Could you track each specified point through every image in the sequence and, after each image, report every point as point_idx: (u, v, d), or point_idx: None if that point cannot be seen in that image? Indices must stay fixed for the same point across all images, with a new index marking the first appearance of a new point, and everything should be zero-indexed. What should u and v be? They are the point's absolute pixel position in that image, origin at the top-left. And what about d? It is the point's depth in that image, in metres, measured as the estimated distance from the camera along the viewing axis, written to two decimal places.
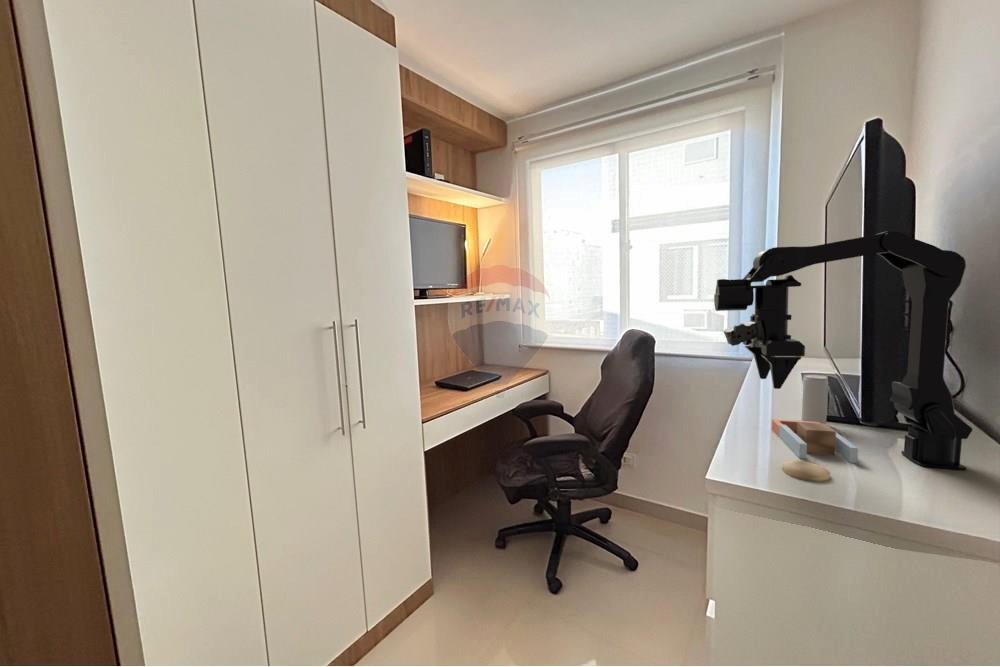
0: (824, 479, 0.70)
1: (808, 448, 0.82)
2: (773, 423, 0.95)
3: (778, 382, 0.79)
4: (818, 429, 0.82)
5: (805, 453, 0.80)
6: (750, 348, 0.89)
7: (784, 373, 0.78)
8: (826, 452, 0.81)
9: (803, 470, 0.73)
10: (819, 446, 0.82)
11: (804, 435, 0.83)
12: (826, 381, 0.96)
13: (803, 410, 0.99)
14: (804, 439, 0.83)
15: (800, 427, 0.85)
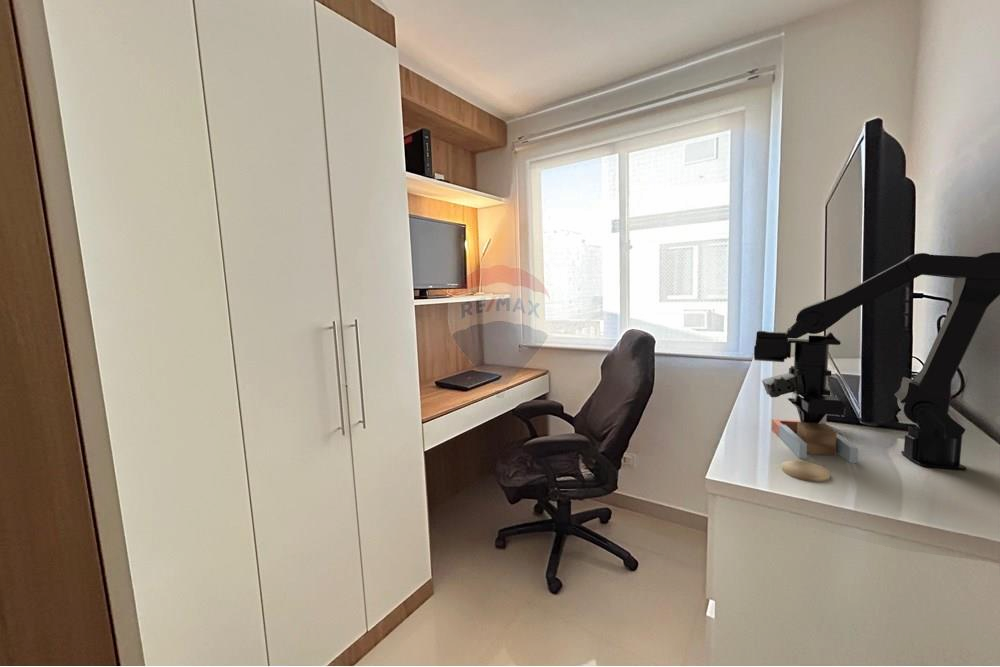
0: (824, 479, 0.70)
1: (808, 448, 0.82)
2: (773, 423, 0.95)
3: None
4: (819, 429, 0.82)
5: (805, 453, 0.80)
6: (794, 402, 0.89)
7: (815, 421, 0.86)
8: (827, 452, 0.81)
9: (803, 470, 0.73)
10: (820, 446, 0.81)
11: (805, 435, 0.83)
12: None
13: None
14: (804, 439, 0.83)
15: (800, 427, 0.85)
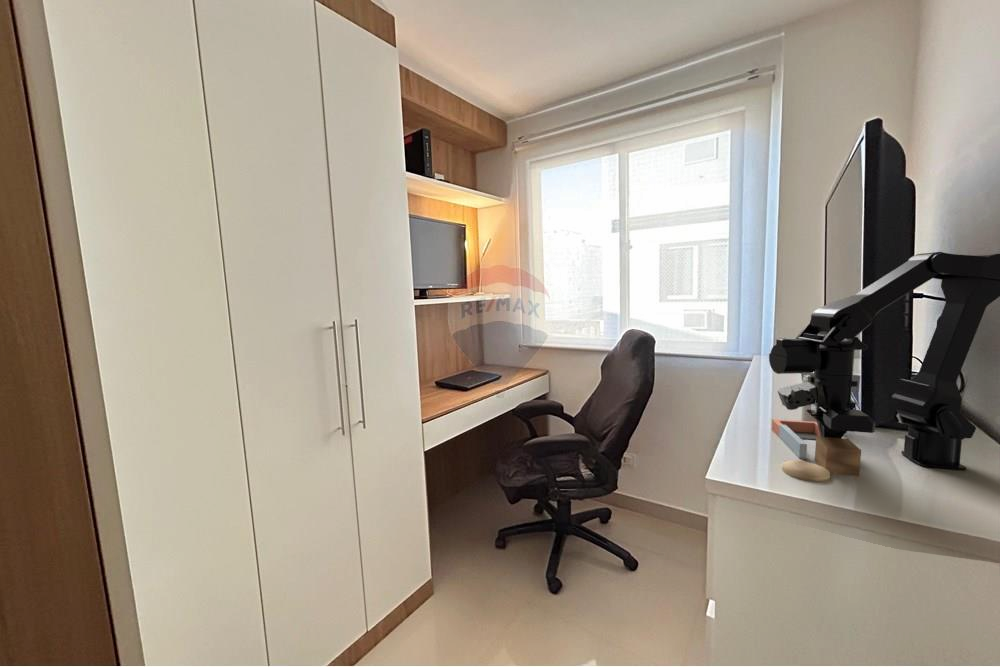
0: (824, 479, 0.70)
1: (829, 468, 0.73)
2: (773, 423, 0.95)
3: None
4: (841, 447, 0.73)
5: (805, 453, 0.80)
6: (814, 415, 0.79)
7: (837, 436, 0.77)
8: (849, 472, 0.72)
9: (803, 470, 0.73)
10: (842, 465, 0.73)
11: (824, 453, 0.74)
12: None
13: (803, 410, 0.99)
14: (824, 457, 0.74)
15: (820, 443, 0.76)
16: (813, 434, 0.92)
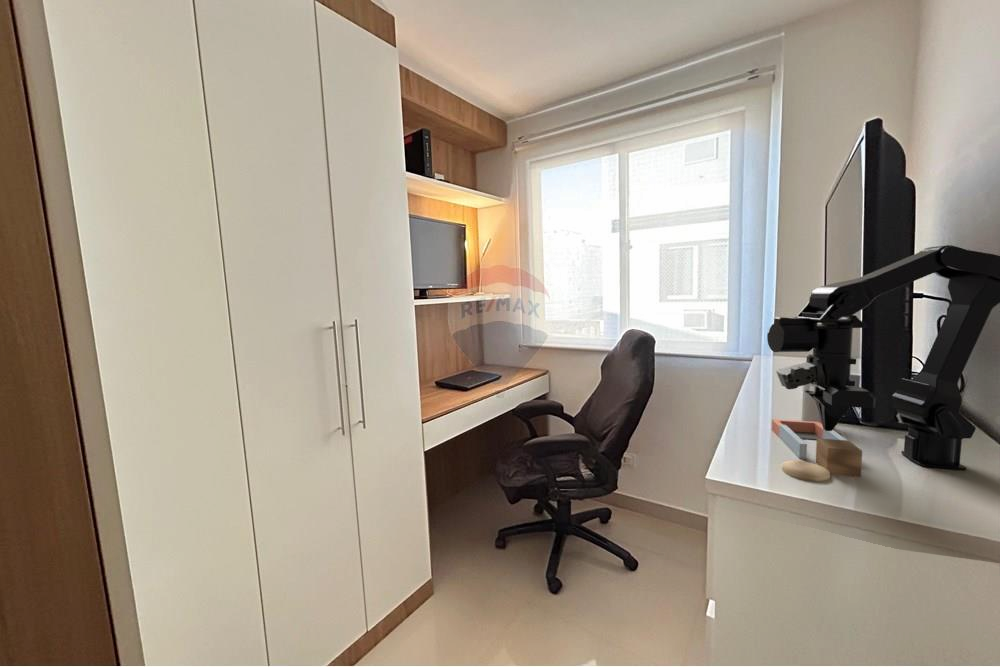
0: (824, 479, 0.70)
1: (830, 469, 0.73)
2: (773, 423, 0.95)
3: (830, 424, 0.77)
4: (841, 447, 0.73)
5: (805, 453, 0.80)
6: (813, 395, 0.79)
7: (837, 416, 0.76)
8: (851, 473, 0.72)
9: (803, 470, 0.73)
10: (843, 466, 0.72)
11: (825, 453, 0.74)
12: None
13: (803, 410, 0.99)
14: (825, 458, 0.74)
15: (820, 444, 0.76)
16: (813, 434, 0.92)
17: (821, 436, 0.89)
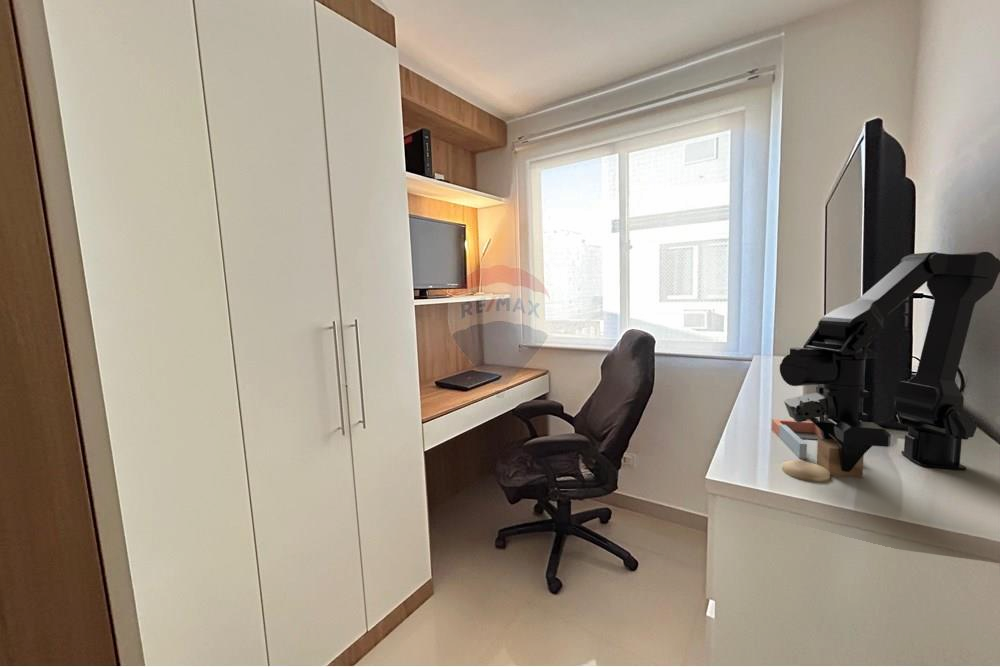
0: (824, 479, 0.70)
1: (831, 469, 0.73)
2: (773, 423, 0.95)
3: (848, 465, 0.71)
4: None
5: (805, 453, 0.80)
6: (817, 423, 0.77)
7: (855, 456, 0.70)
8: (852, 474, 0.72)
9: (803, 470, 0.73)
10: None
11: (827, 454, 0.73)
12: None
13: None
14: (827, 459, 0.73)
15: (822, 445, 0.75)
16: (813, 434, 0.92)
17: (821, 436, 0.89)
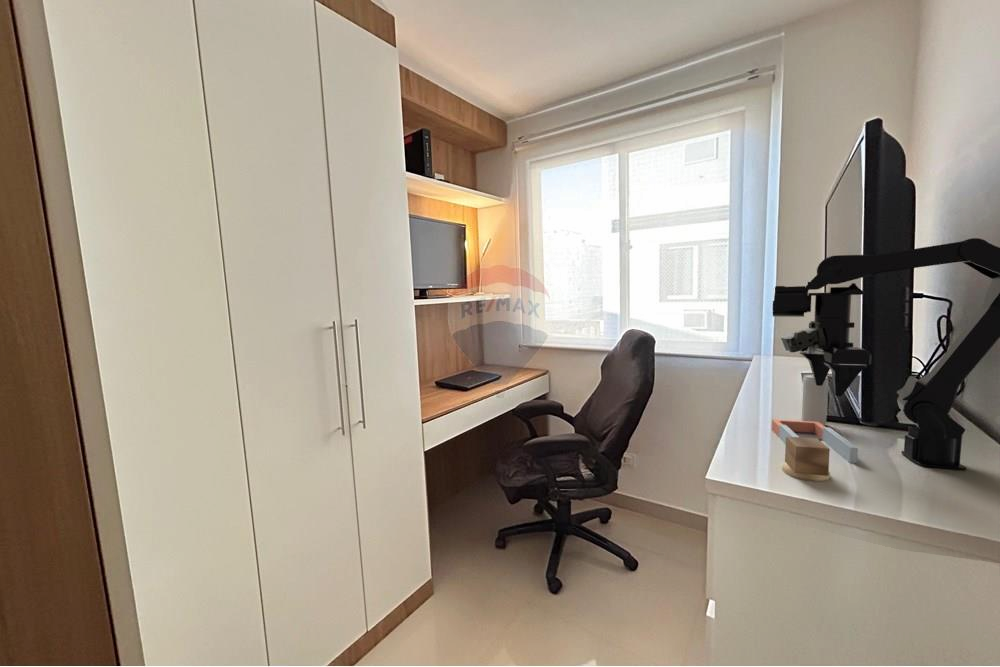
0: (824, 479, 0.70)
1: (798, 467, 0.72)
2: (773, 423, 0.95)
3: (840, 390, 0.80)
4: (809, 445, 0.72)
5: None
6: (806, 355, 0.90)
7: (847, 381, 0.79)
8: (818, 472, 0.71)
9: None
10: (811, 465, 0.71)
11: (794, 452, 0.73)
12: (826, 381, 0.96)
13: (803, 410, 0.99)
14: (794, 457, 0.73)
15: (789, 443, 0.75)
16: (813, 434, 0.92)
17: (821, 436, 0.89)
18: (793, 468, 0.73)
